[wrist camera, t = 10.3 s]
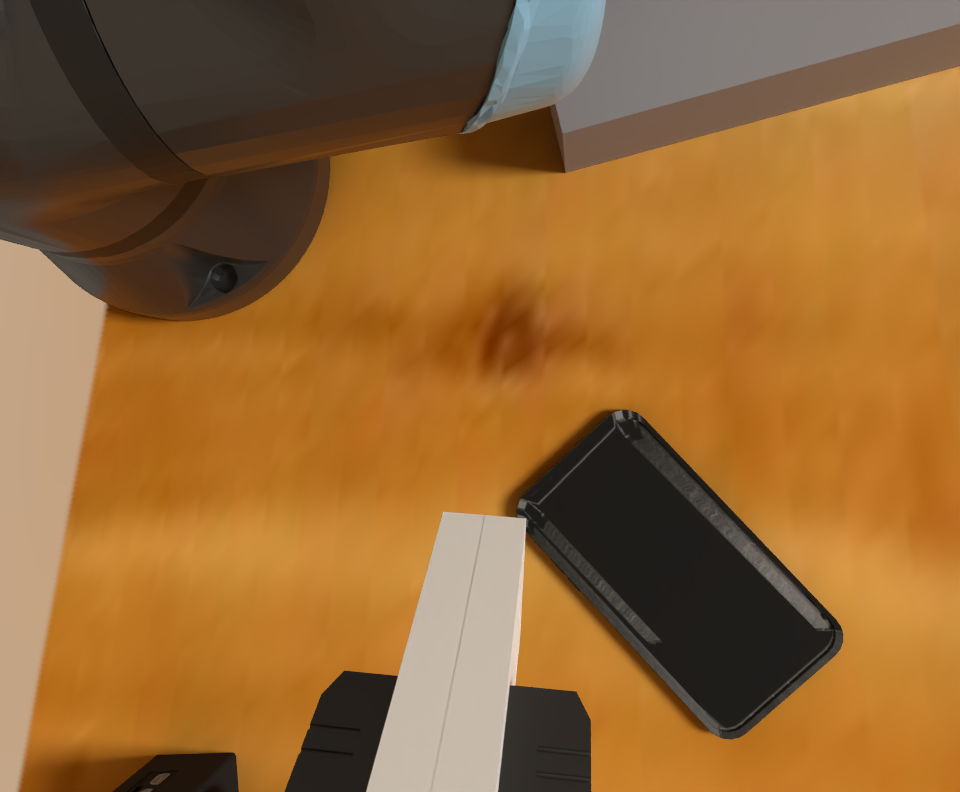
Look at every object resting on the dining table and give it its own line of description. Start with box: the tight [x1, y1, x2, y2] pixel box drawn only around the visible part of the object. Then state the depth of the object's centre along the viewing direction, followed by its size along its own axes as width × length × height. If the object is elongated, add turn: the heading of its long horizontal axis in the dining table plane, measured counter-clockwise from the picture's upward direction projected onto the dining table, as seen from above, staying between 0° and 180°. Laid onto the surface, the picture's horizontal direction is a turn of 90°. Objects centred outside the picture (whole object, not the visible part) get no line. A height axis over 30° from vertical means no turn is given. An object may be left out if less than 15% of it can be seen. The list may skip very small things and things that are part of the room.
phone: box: [517, 410, 843, 739], centre depth 40 cm, size 8×1×15 cm
